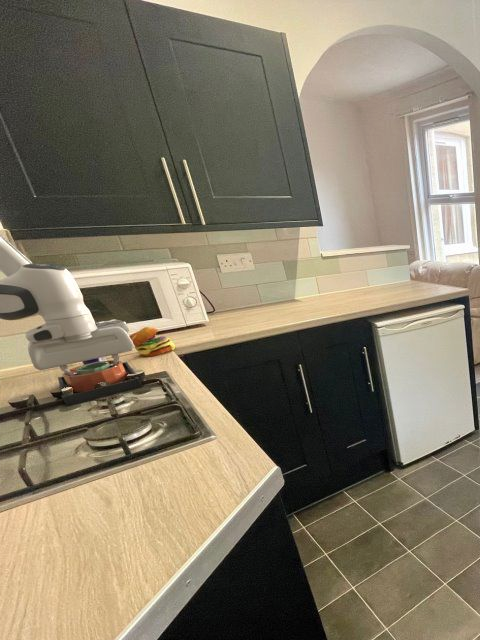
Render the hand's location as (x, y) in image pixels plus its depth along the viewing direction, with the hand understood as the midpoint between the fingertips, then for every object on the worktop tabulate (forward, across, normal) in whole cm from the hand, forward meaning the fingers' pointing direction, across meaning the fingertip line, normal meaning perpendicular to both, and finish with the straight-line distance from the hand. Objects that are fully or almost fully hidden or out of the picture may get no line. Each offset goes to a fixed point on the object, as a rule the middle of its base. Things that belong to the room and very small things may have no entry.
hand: (96, 374), depth 116 cm
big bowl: (+3, 0, 0) cm, 3 cm away
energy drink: (+4, -1, -21) cm, 21 cm away
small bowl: (+2, 0, 0) cm, 2 cm away
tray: (+3, 0, 0) cm, 3 cm away
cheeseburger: (+4, -16, -24) cm, 29 cm away
